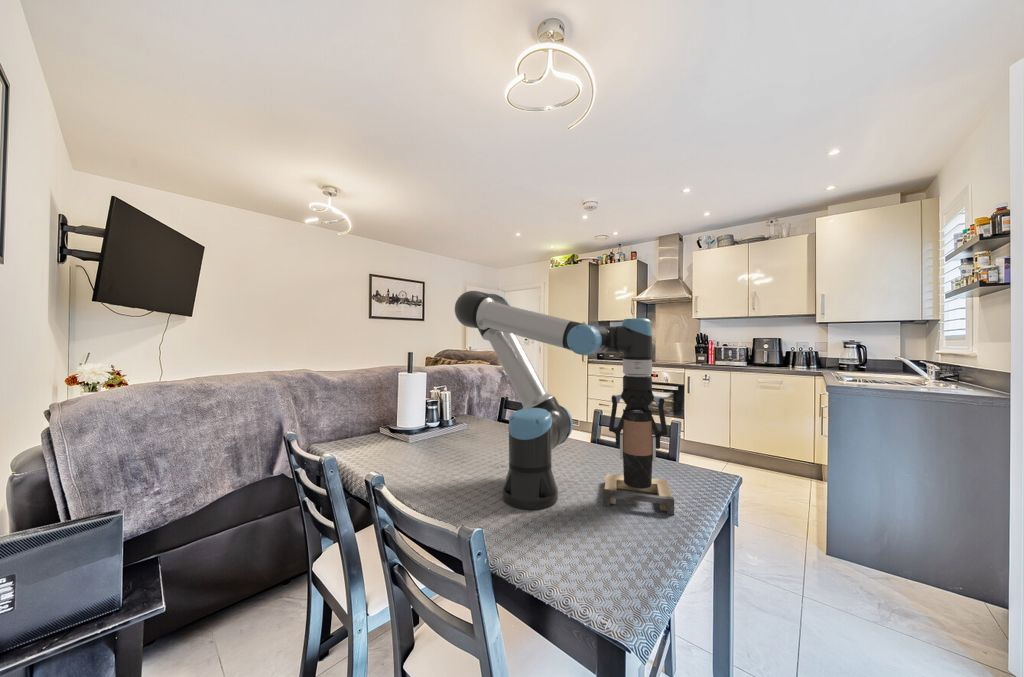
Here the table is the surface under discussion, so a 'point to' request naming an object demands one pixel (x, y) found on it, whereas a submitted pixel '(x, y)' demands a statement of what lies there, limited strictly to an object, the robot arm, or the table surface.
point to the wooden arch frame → (656, 486)
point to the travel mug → (637, 448)
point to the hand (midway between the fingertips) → (637, 458)
